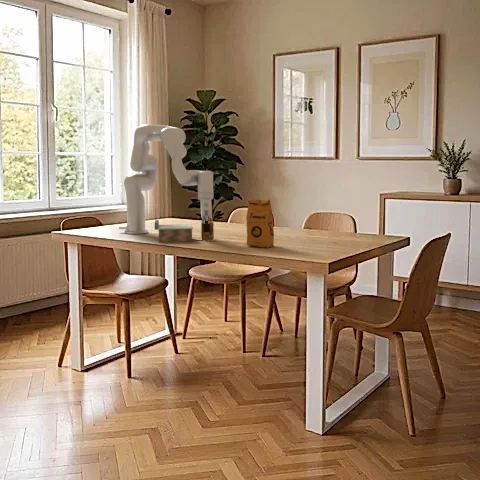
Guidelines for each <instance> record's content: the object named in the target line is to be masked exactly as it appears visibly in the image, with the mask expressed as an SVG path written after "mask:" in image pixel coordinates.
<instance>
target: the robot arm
mask: <svg viewBox="0 0 480 480" xmlns="http://www.w3.org/2000/svg"><path fill="white" fill-rule="evenodd" d="M186 136H187V135H186V133H185V131H184V130H183V129H181V128H179V127H175V126H170V125H164V124H151V123H150V124H148V123H147V124H140V125H139V126H137V128H136V129H135V131H134V134H133V147H132V152H131V156H130V164H129V165H130V168H131V170H132V171H133V172H137V173H130V174H127V176H125V178H124V180H123V186H124V190H125V195H126V196H125V198H126V224H124V225H118V229H119V230H124V234H126V235H128V234H129V235H140V234H141V235H142V234H147V233H149V230H148V229H146V204H145V196H144V194H143V192H147V191H151V190H152V189H154V186H155V182H156V178H157V174H158V173H157V172H158V167H159V162H158V158H157V157H156V155H155V154H152V153H150V148H151V147H150V143H149V142H161V143H162V144H163V146H164V148H165V149H166V151H167V152H168V154H169V156H170V158H171V169H172V170H171V171H172V173H173V175H174V176H175V179H176V180H177V181H178V183H179V184H180V185H182V186H184V187H190V186H197V199H198V200H199V202H200V215H201V220H202V219H203V220H204V224H203V232H210V224H209V218H211V219H212V217H213V215H212V213H213V210H212V209H213V207H212V200H213V199H214V173H213V171H212V170H198V169H190V170H189V169H186V167H185V165H184V163H183V161H182V159H184V158H185V157H186V156H187V154H188V150H187V148H186V147H185V145H184V143H185V142H186V139H187V137H186Z"/></svg>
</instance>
